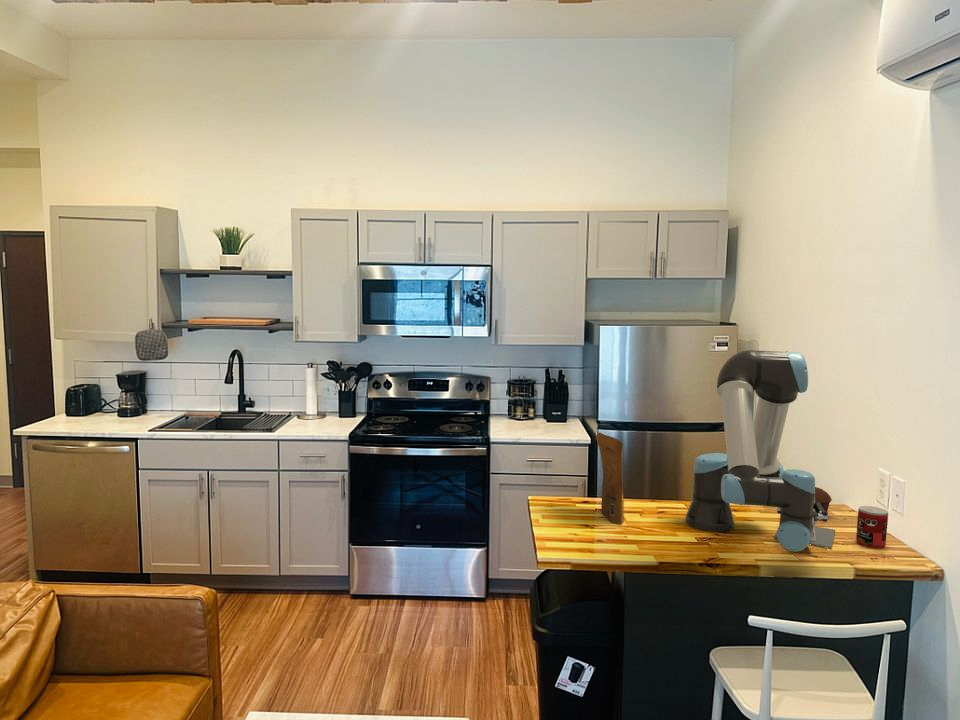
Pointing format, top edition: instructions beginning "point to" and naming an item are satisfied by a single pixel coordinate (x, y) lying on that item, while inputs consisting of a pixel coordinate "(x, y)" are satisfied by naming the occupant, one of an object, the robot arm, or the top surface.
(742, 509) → the top surface
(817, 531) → the mat
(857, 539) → the canned food
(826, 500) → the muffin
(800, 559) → the top surface
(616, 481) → the pancake mix bag
